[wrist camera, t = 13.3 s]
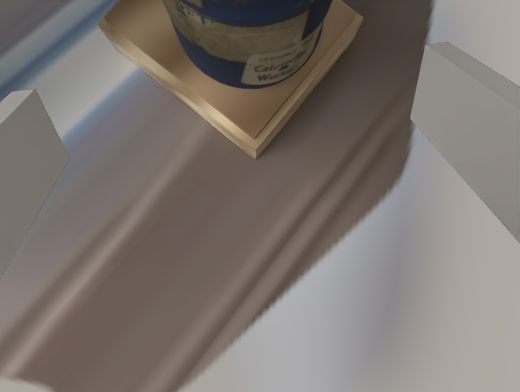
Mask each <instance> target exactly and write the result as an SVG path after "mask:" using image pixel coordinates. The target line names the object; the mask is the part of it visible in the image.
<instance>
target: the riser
mask: <svg viewBox="0 0 520 392" xmlns="http://www.w3.org/2000/svg"><path fill="white" fill-rule="evenodd" d="M363 19H364V17H362V16H361V15H360V14H358V13H357V12H356V11H354V10H353V9H352V8H350V7H349V6H348V5H347V4H345V3H344V2H343V1H341V0H333V1H332V3H331V5H330V8H329V10H328V13H327V15H326V17H325V19H324V24H323V29H322V33H321V36H320V39H319V42H318V44H317V46H316V48H315V50H314V52H313V54H312V55H311V57H310V58H309V60H308V61H307V62H306V63H305V64H304V66H303V67H302V68H301V69H299V70H298V71H297V72H296V73H295V74H293V75H292V76H291V77H289V78H288V79H286V80H284V81H282V82H280V83H278V84H275V85H272V86H269V87H265V88H260V89H241V88H235V87H231V86H227V85H224V84H222V83H220V82H217V81H216V80H214V79H212V78H210V77H209V76H207V75H206V74H204V73H203V72H202V71H201V70H200V69H198V68H197V67H196V66H195V65H194V64H193V62H192V61H191V60H190V59H189V57H188V56H187V54H186V53H185V51H184V49H183V48H182V46H181V44H180V41H179V39H178V37H177V34H176V32H175V29H174V27H173V24H172V22H171V19H170V17H169V14H168V12H167V10H166V8H165V5H164V3H163V1H162V0H119V1H118V2H117V3H116V4H115V5H114V6H113V7H112V9H111V10H110V11H109V12H108V13H107V14H106V15H105V16H104V18H103V19H102V20H101V21H100V22H99V23H98V24H97V25H98V26H99V27H100V29H101V30H102V31H103V32H104V34H105V35H106V36H107V37H108V39H109V40H110V41H111V43H112V44H113V45H114V46H115V48H116V49H117V50H118V51H120V52H121V53H122V54H123V55H125V56H126V57H127V58H128V59H130V60H131V61H132V62H133V63H135V64H136V65H137V66H139V67H140V68H141V69H142V70H144V71H145V72H146V73H147V74H149V75H150V76H151V77H152V78H154V79H155V80H156V81H157V82H159V83H160V84H161V85H162V86H164V87H165V88H166V89H167V90H169V91H170V92H171V93H172V94H174V95H175V96H176V97H177V98H179V99H180V100H181V101H182V102H184V103H185V104H186V105H187V106H189V107H190V108H191V109H193V110H194V111H195V112H196V113H198V114H199V115H200V116H201V117H203V118H204V119H205V120H206V121H208V122H209V123H210V124H211V125H213V126H214V127H215V128H216V129H218V130H219V131H220V132H221V133H223V134H224V135H225V136H226V137H228V138H229V139H230V140H231V141H233V142H234V143H235V144H236V145H238V146H239V147H240V148H241V149H243V150H244V151H245V152H246V153H248V154H249V155H250V156H252V157H253V158H254V159H255V160H256V159H257V158H258V157H259V155H260V154H261V153H262V152H263V151H264V149H265V148H266V147H267V146H268V144H269V143H270V142H271V141H272V140H273V138H274V137H275V136H276V135H277V133H278V132H279V131H280V130H281V128H282V127H283V126H284V125H285V124H286V122H287V121H288V120H289V119H290V117H291V116H292V115H293V114H294V113H295V111H296V110H297V109H298V108H299V106H300V105H301V104H302V103H303V102H304V100H305V99H306V98H307V97H308V95H309V94H310V93H311V92H312V91H313V89H314V88H315V87H316V86H317V84H318V83H319V82H320V81H321V80H322V78H323V77H324V76H325V75H326V73H327V72H328V71H329V70H330V69H331V67H332V66H333V65H334V64H335V62H336V61H337V60H338V59H339V57H340V56H341V55H342V54H343V53H344V51H345V50H346V49H347V48H348V46H349V45H350V44H351V43H352V41H353V39H354V37H355V35H356V33H357V31H358V29H359V27H360V25H361V23H362V21H363Z"/></svg>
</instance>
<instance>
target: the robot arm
mask: <svg viewBox="0 0 520 392" xmlns="http://www.w3.org/2000/svg"><path fill="white" fill-rule="evenodd" d="M410 119H411V120H412V121H413V122H414V124H415V125H416V126H417V127H418V128H419V129H420V130H421V131H422V133H423V134H424V135H425V136H426V137H427V138H428V140H429V141H430V142H431V143H432V144H433V145H434V146H435V147H436V148H437V150H438V151H439V152H440V153H441V154H442V155H443V156H444V158H445V159H446V160H447V161H448V162H449V163H450V164H451V166H452V167H453V168H454V169H455V170H456V171H457V172H458V174H459V175H460V176H461V177H462V178H463V179H464V180H465V181H466V183H467V184H468V185H469V186H470V187H471V188H472V190H473V191H474V192H475V193H476V194H477V195H478V196H479V197H480V199H481V200H482V201H483V202H484V203H485V204H486V205H487V207H488V208H489V209H490V210H491V211H492V212H493V213H494V215H495V216H496V217H497V218H498V219H499V220H500V221H501V223H502V224H503V225H504V226H505V227H506V228H507V229H508V230H509V232H510V233H511V234H512V235H513V236H514V237H515V238H516V240H517V241H518V242H519V243H520V86H518V85H517V84H515V83H513V82H512V81H510V80H508V79H507V78H505V77H504V76H502V75H500V74H498V73H497V72H495V71H494V70H492V69H491V68H489V67H487V66H486V65H484V64H482V63H481V62H479V61H478V60H476V59H474V58H473V57H471V56H469V55H468V54H466V53H464V52H463V51H461V50H460V49H458V48H456V47H455V46H453V45H452V44H450V43H448V42H445V43H437V44H428V45H425V49H424V54H423V59H422V64H421V69H420V73H419V78H418V83H417V88H416V93H415V97H414V102H413V107H412V112H411V117H410ZM69 159H70V157H69V155H68V153H67V151H66V149H65V147H64V145H63V143H62V141H61V139H60V137H59V136H58V134H57V132H56V130H55V128H54V126H53V124H52V122H51V120H50V118H49V116H48V114H47V112H46V110H45V108H44V106H43V104H42V102H41V100H40V98H39V96H38V94H37V92H36V90H35V89H30V90H21V91H13V92H11V93H10V94H9V95H7V96H6V97H5V98H4V99H3V100H2V101H1V102H0V278H1V276H2V275H3V273H4V271H5V269H6V268H7V266H8V264H9V263H10V261H11V259H12V257H13V256H14V254H15V252H16V250H17V249H18V247H19V245H20V244H21V242H22V240H23V238H24V237H25V235H26V233H27V232H28V230H29V228H30V226H31V225H32V223H33V221H34V219H35V218H36V216H37V214H38V213H39V211H40V209H41V207H42V206H43V204H44V202H45V200H46V199H47V197H48V195H49V194H50V192H51V190H52V188H53V187H54V185H55V183H56V182H57V180H58V178H59V176H60V175H61V173H62V171H63V169H64V168H65V166H66V164H67V163H68V161H69Z"/></svg>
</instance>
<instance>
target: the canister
mask: <svg viewBox="0 0 520 392" xmlns="http://www.w3.org/2000/svg"><path fill="white" fill-rule="evenodd" d="M162 1H163V3H164V5H165V8H166V10H167V12H168V14H169V17H170V19H171V22H172V24H173V27H174V29H175V32H176V34H177V37H178V39H179V41H180V44H181V46H182V48H183V49H184V51H185V53H186V54H187V56H188V57H189V59H190V60H191V61H192V62H193V64H194V65H195V66H196V67H197V68H198V69H200V70H201V71H202V72H203V73H204V74H206V75H207V76H209V77H210V78H212V79H214V80H216V81H217V82H220V83H222V84H224V85H227V86H231V87H235V88H241V89H260V88H265V87H269V86H272V85H275V84H278V83H280V82H282V81H284V80H286V79H288V78H289V77H291V76H292V75H293V74H295V73H296V72H297V71H298V70H299V69H301V68H302V67H303V66H304V64H305V63H306V62H307V61H308V60H309V58H310V57H311V55H312V54H313V52H314V50H315V48H316V46H317V44H318V42H319V39H320V36H321V33H322V29H323V24H324V19H325V17H326V15H327V13H328V10H329V8H330V5H331V3H332V1H333V0H162Z"/></svg>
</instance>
